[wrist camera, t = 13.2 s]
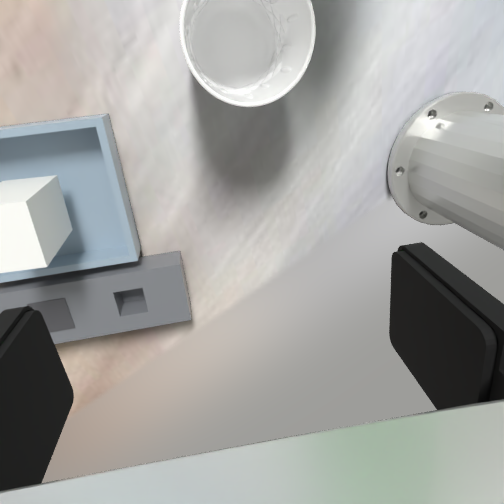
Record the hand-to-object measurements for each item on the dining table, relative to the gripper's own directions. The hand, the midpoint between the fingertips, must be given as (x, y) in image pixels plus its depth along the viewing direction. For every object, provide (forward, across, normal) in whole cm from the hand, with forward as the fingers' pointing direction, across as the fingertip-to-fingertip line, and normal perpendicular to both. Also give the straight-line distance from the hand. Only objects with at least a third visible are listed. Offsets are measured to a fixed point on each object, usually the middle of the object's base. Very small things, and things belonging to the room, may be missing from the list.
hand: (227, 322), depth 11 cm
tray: (+26, +14, +2) cm, 30 cm away
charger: (+25, +14, +2) cm, 29 cm away
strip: (+26, +14, +12) cm, 32 cm away
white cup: (+27, -3, -8) cm, 28 cm away
